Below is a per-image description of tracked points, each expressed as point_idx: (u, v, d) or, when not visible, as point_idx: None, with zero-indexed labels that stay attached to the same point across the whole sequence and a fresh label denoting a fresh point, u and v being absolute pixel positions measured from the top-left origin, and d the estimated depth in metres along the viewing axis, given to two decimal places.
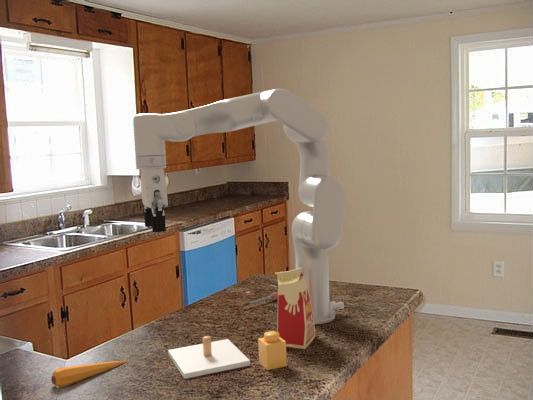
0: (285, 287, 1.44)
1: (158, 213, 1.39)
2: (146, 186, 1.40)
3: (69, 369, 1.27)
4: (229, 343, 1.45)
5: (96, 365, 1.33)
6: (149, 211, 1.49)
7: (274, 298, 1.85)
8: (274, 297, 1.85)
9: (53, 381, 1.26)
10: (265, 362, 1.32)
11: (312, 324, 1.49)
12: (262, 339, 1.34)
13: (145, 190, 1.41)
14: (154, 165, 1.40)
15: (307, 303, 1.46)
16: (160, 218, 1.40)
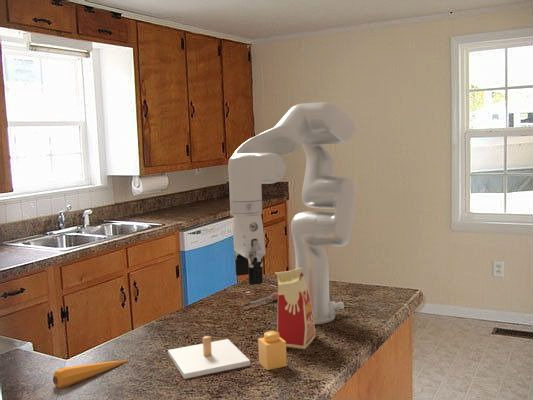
0: (285, 287, 1.44)
1: (256, 264, 1.27)
2: (242, 234, 1.29)
3: (70, 369, 1.27)
4: (229, 343, 1.45)
5: (97, 365, 1.33)
6: (241, 258, 1.38)
7: (274, 298, 1.85)
8: (274, 297, 1.84)
9: (55, 381, 1.25)
10: (265, 362, 1.32)
11: (312, 324, 1.49)
12: (262, 339, 1.34)
13: (241, 238, 1.30)
14: (251, 211, 1.29)
15: (307, 303, 1.46)
16: (258, 269, 1.28)
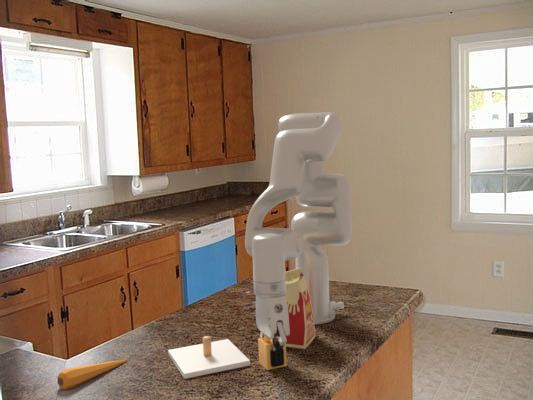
0: None
1: (278, 348, 1.29)
2: (267, 315, 1.29)
3: (75, 370, 1.27)
4: (229, 343, 1.45)
5: (99, 365, 1.32)
6: None
7: None
8: None
9: (60, 383, 1.24)
10: (265, 362, 1.32)
11: (312, 324, 1.49)
12: (262, 339, 1.34)
13: (266, 319, 1.30)
14: (276, 293, 1.29)
15: (307, 303, 1.46)
16: (279, 352, 1.30)
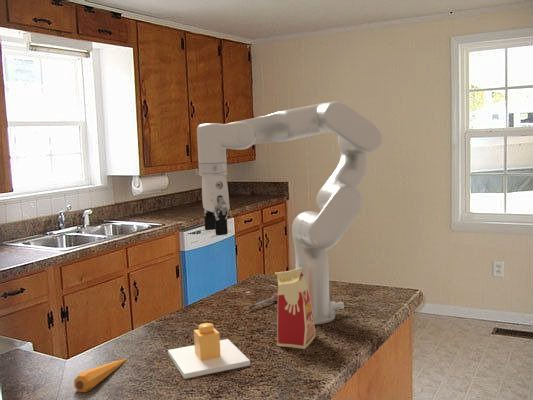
0: (285, 287, 1.44)
1: (222, 217, 1.47)
2: (210, 191, 1.49)
3: (91, 372, 1.25)
4: (229, 343, 1.45)
5: (108, 365, 1.32)
6: (209, 215, 1.58)
7: (276, 299, 1.84)
8: (276, 298, 1.83)
9: (79, 386, 1.23)
10: (199, 353, 1.36)
11: (312, 324, 1.49)
12: (197, 331, 1.38)
13: (208, 195, 1.50)
14: (217, 172, 1.49)
15: (307, 303, 1.46)
16: (223, 222, 1.49)
